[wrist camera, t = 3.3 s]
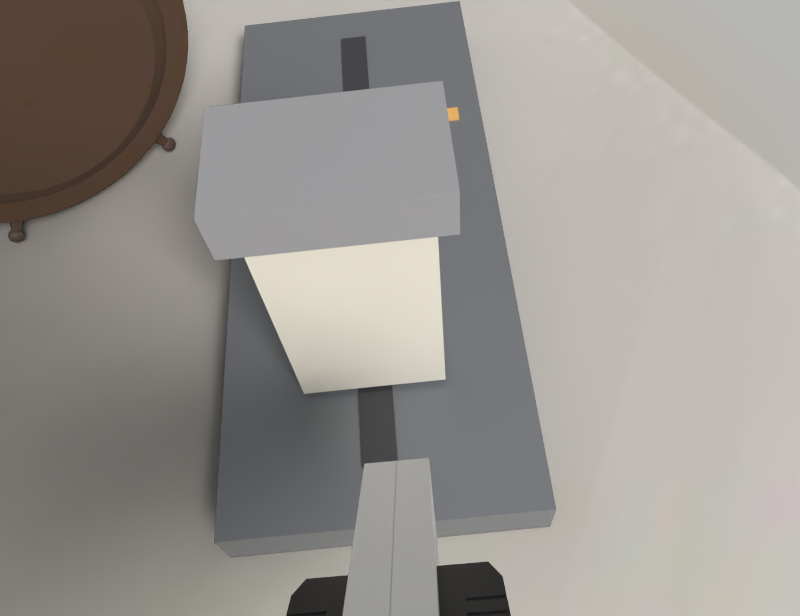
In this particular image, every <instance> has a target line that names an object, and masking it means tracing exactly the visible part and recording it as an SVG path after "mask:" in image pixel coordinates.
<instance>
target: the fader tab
mask: <svg viewBox="0 0 800 616" xmlns="http://www.w3.org/2000/svg"><path fill="white" fill-rule="evenodd" d="M194 221H195V223H196V225H197V227H198V229H199V231H200V233H201V235H202V237H203V239H204V241H205V243H206V245H207V247H208V249H209V251H210V253H211V255H212V257H213V259H214V261H216V260H225V259H234V258H245V261H246V263H247V265H248V267H249V270H250V272H251V274H252V277H253V279H254V281H255V283H256V286H257V288H258V290H259V292H260V295H261V297H262V299H263V302H264V304H265V306H266V308H267V311H268V313H269V315H270V317H271V320H272V322H273V324H274V327H275V329H276V331H277V333H278V336H279V338H280V340H281V342H282V345H283V347H284V349H285V352H286V354H287V356H288V358H289V361H290V363H291V365H292V367H293V370H294V372H295V374H296V376H297V379H298V381H299V383H300V386H301V388H302V390H303V392H304V394H307V393H317V392H327V391H337V390H347V389H356V388H366V387H376V386H386V385H396V384H405V383H415V382H425V381H435V380H445V379H446V378H445V359H444V340H443V321H442V302H441V283H440V264H439V245H438V237H441V236H450V235H459V234H460V189H459V182H458V176H457V170H456V163H455V157H454V150H453V144H452V137H451V131H450V125H449V118H448V112H447V105H446V99H445V92H444V86H443V81H436V82H427V83H418V84H409V85H400V86H391V87H382V88H373V89H364V90H355V91H346V92H337V93H328V94H320V95H311V96H302V97H293V98H284V99H275V100H266V101H257V102H248V103H239V104H230V105H221V106H212V107H205V108H204V118H203V128H202V139H201V149H200V159H199V170H198V180H197V191H196V201H195V211H194Z"/></svg>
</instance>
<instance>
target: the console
mask: <svg viewBox="0 0 800 616" xmlns="http://www.w3.org/2000/svg"><path fill="white" fill-rule="evenodd" d="M436 81H443V86H444V92H445V99H446V105H447V112H448V118H449V125H450V131H451V137H452V144H453V150H454V157H455V163H456V170H457V176H458V182H459V189H460V234H459V235H450V236H441V237H438V245H439V264H440V283H441V302H442V321H443V340H444V359H445V378H446V379H445V380H435V381H425V382H415V383H405V384H396V385H386V386H376V387H366V388H356V389H347V390H337V391H327V392H317V393H307V394H304V392H303V390H302V388H301V386H300V383H299V381H298V379H297V376H296V374H295V372H294V370H293V367H292V365H291V363H290V361H289V358H288V356H287V354H286V352H285V349H284V347H283V345H282V342H281V340H280V338H279V336H278V333H277V331H276V329H275V327H274V324H273V322H272V320H271V317H270V315H269V313H268V311H267V308H266V306H265V304H264V302H263V299H262V297H261V295H260V292H259V290H258V288H257V286H256V283H255V281H254V279H253V277H252V274H251V272H250V270H249V267H248V265H247V263H246V261H245V258H234V259H231V268H230V285H229V302H228V319H227V335H226V352H225V369H224V386H223V403H222V419H221V436H220V453H219V470H218V487H217V503H216V520H215V537H214V543H215V544H216V545H218V546H219V547H220V548H221V549H222V550H223V551H225V552H226V553H227V554H228V555H229V556H230V557H239V556H249V555H259V554H270V553H280V552H290V551H301V550H311V549H322V548H332V547H342V546H353V539H354V532H355V525H356V519H357V512H358V505H359V498H360V491H361V484H362V477H363V470H364V464H366V463H377V462H388V461H399V460H410V459H422V458H429V463H430V473H431V483H432V493H433V503H434V513H435V523H436V532H437V537H446V536H457V535H467V534H477V533H488V532H498V531H509V530H519V529H529V528H540V527H550V525H551V522H552V519H553V517H554V514H555V511H556V506H555V501H554V496H553V490H552V485H551V480H550V475H549V469H548V464H547V459H546V454H545V448H544V443H543V438H542V433H541V427H540V422H539V417H538V412H537V406H536V401H535V396H534V390H533V385H532V380H531V375H530V369H529V364H528V359H527V354H526V348H525V343H524V338H523V333H522V327H521V322H520V317H519V312H518V306H517V301H516V296H515V290H514V285H513V280H512V275H511V269H510V264H509V259H508V254H507V248H506V243H505V238H504V233H503V227H502V222H501V217H500V212H499V206H498V201H497V196H496V190H495V185H494V180H493V175H492V169H491V164H490V159H489V154H488V148H487V143H486V138H485V133H484V127H483V122H482V117H481V112H480V106H479V101H478V96H477V91H476V85H475V80H474V75H473V69H472V64H471V59H470V54H469V48H468V43H467V38H466V33H465V27H464V22H463V17H462V12H461V6H460V1H457V2H448V3H440V4H431V5H422V6H414V7H405V8H396V9H387V10H379V11H370V12H361V13H353V14H344V15H335V16H326V17H318V18H309V19H300V20H292V21H283V22H274V23H265V24H257V25H248V26H245V33H244V50H243V67H242V83H241V100H240V103H248V102H257V101H266V100H275V99H284V98H293V97H302V96H311V95H320V94H328V93H337V92H346V91H355V90H364V89H373V88H382V87H391V86H400V85H409V84H418V83H427V82H436Z"/></svg>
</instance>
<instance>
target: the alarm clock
mask: <svg viewBox="0 0 800 616" xmlns="http://www.w3.org/2000/svg"><path fill="white" fill-rule="evenodd" d="M187 53H188V30H187V21H186V14H185V10H184V5H183V0H0V223H8V222H10V226H11V231H10V232H9V235H8V236H9V239H10V240H11V241H12V242H16V243H18V242H21V241H22V240H23V239H24V237H25V236H24V232H23V231H21V229H22V224H23V220H28V219H32V218H37V217H41V216H45V215H48V214H51V213H55V212H58V211H60V210H63V209H66V208H68V207H71V206H73V205H75V204H78V203H80V202H82V201H84V200H86V199H88V198H90V197H91V196H93V195H95V194H97V193H99V192H100V191H102V190H103V189H105V188H106V187H108V186H109V185H111V184H112V183H114V182H115V181H116V180H117V179H119V178H120V177H121V176H123V175H124V174H125V173H126V172H127V171H128V170H129V169H131V168H132V167H133V166H134V165H135V164H136V163H137V162H138V161H139V160H140V159H141V158H142V156H143V155H144V154H145V153H146V152H147V151H148V150H149V148H150V147H151V146H152V145H153V143H157V144H160V145H162V146H163V148H164V150H166V151H172V150H173V149H174V148H175V145H176V143H175V141H174V139H172V138H165V137H164V136H163V135H162V134H160V133H161V132H162V130H163V129H164V127H165V125H166V123H167V121H168V120H169V118H170V116H171V114H172V111H173V109H174V107H175V105H176V102H177V100H178V97H179V94H180V91H181V88H182V84H183V80H184V76H185V70H186V64H187Z"/></svg>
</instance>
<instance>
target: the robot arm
mask: <svg viewBox="0 0 800 616" xmlns="http://www.w3.org/2000/svg"><path fill="white" fill-rule="evenodd" d="M287 616H511V614H510V610H509V605H508V600H507V597H506V591H505V586H504V581H503V577H502V575H501V574H500V573H499V572H498V571H497V570H496V569H495V568H494V567H493V566H492V565H491V564H490V563H489V562H479V563H467V564H455V565H443V566H440V562H439V552H438V542H437V532H436V523H435V513H434V503H433V493H432V483H431V473H430V463H429V458H422V459H410V460H399V461H388V462H377V463H366V464H364V470H363V477H362V484H361V491H360V498H359V505H358V512H357V519H356V525H355V532H354V539H353V546H352V553H351V560H350V567H349V574H348V575H347V576H335V577H323V578H311V579H306V580H305V581H304V582H303V583H302V584H301V586H300V587H299V588H298V589H297V590H296V591H295V592H294V594H293V595H292V596H291V599H290V603H289V607H288V611H287Z"/></svg>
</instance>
